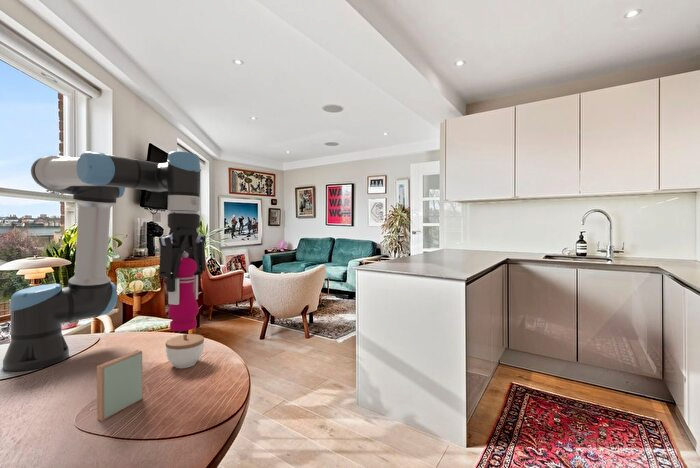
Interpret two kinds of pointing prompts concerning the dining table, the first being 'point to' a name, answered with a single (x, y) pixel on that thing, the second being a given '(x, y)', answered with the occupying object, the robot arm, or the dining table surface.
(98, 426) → the dining table surface
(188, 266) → the pepper mill
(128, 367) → the tile
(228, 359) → the dining table surface
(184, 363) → the lidded jar
